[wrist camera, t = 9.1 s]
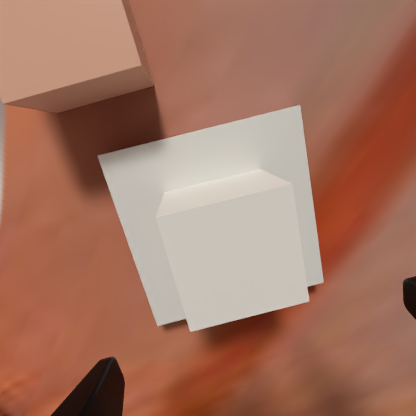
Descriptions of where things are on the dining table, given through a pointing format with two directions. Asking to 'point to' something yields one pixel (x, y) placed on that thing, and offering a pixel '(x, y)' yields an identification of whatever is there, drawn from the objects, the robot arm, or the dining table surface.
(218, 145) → the baseplate
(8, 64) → the terracotta brick
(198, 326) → the off-white brick
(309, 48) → the dining table surface
